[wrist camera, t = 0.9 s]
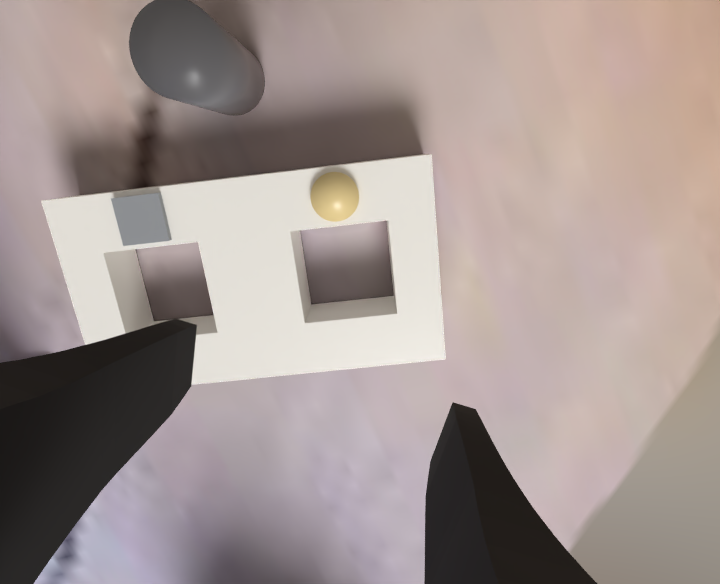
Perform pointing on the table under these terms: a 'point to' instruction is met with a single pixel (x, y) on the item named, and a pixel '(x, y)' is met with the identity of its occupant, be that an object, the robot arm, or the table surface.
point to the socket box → (263, 266)
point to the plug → (194, 58)
